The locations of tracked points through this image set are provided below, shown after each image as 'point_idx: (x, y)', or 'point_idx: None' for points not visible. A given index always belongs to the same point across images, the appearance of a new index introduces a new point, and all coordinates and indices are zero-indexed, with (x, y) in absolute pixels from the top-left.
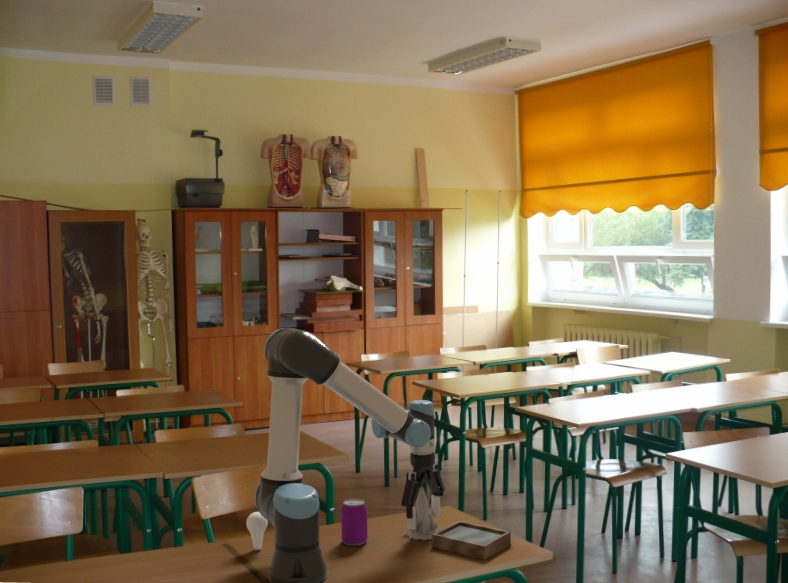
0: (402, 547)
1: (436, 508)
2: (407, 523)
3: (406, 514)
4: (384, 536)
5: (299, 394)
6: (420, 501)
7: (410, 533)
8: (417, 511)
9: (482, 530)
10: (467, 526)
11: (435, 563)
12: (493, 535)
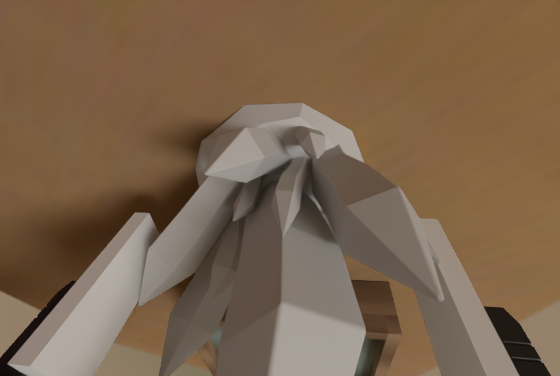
0: (100, 205)
1: (429, 307)
2: (119, 235)
3: (45, 307)
4: (79, 28)
5: None
6: None
7: (201, 170)
8: (237, 269)
9: (362, 373)
10: (377, 343)
11: None
12: None
